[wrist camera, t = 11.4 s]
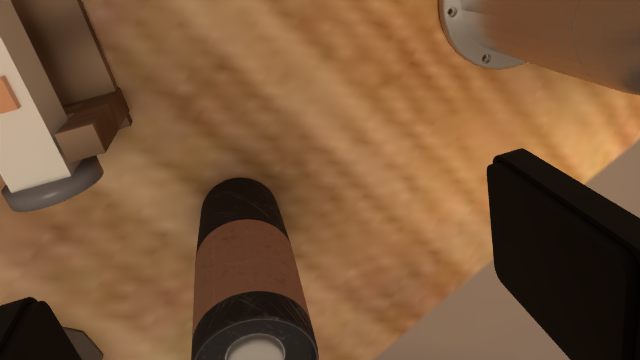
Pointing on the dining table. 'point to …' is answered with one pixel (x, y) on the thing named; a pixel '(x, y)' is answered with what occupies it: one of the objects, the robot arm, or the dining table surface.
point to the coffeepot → (83, 345)
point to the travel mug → (247, 280)
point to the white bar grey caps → (33, 127)
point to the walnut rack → (75, 75)
